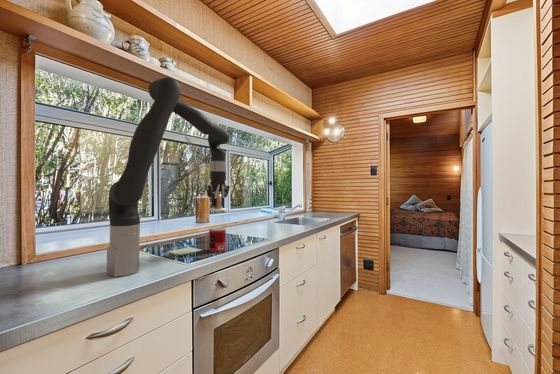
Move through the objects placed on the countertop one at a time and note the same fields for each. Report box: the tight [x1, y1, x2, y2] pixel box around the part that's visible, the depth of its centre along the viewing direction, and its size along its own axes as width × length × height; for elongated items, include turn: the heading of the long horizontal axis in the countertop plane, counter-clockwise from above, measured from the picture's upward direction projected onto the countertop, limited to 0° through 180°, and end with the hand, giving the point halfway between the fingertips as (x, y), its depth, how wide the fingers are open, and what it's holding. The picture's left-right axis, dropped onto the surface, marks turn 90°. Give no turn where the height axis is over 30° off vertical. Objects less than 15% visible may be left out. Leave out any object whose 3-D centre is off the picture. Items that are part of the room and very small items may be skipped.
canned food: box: [208, 227, 227, 253], centre depth 124 cm, size 8×8×11 cm
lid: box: [206, 194, 229, 212], centre depth 124 cm, size 10×10×8 cm
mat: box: [168, 246, 202, 256], centre depth 122 cm, size 12×10×1 cm
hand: (217, 206), depth 124 cm, fingers closed on lid, 3 cm apart
